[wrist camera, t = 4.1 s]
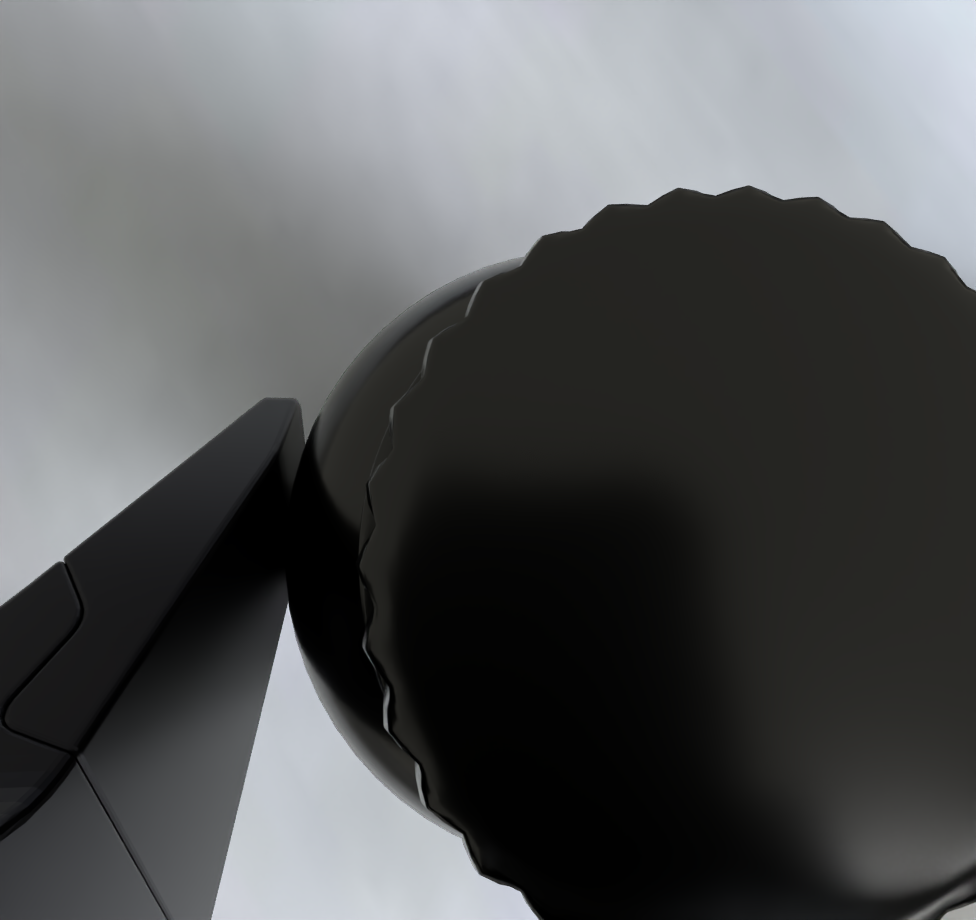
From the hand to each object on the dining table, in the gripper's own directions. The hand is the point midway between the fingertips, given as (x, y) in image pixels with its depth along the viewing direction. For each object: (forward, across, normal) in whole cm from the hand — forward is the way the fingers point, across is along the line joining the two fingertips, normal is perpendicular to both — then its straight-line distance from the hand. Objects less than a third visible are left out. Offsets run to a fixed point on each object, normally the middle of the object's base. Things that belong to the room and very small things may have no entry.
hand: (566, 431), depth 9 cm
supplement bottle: (+4, 0, +6) cm, 7 cm away
